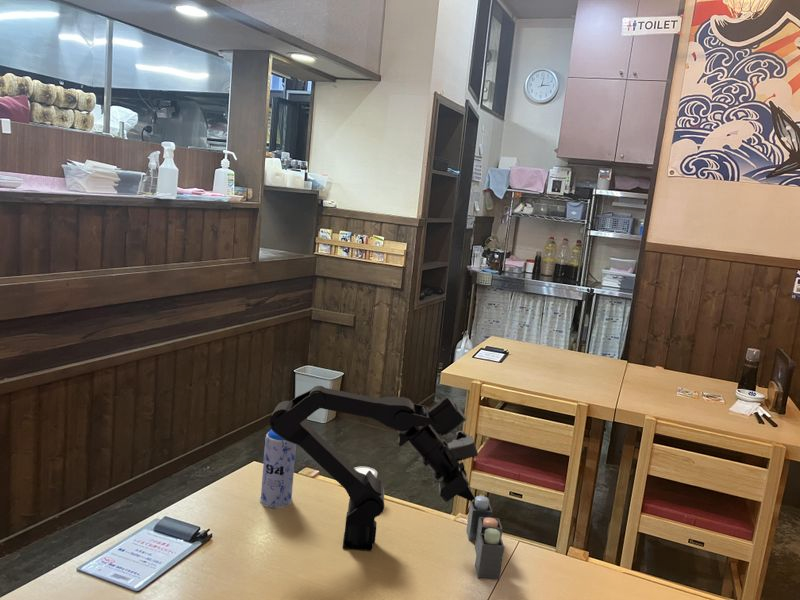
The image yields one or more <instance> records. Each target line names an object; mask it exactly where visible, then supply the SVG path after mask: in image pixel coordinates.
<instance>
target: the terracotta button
mask: <svg viewBox="0 0 800 600" xmlns="http://www.w3.org/2000/svg"><path fill="white" fill-rule="evenodd" d="M494 518H495V517H492V518H484V521H483V526H487V527H497V526H498V521H497V520H496V519H494Z"/></svg>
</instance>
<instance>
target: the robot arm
mask: <svg viewBox="0 0 800 600" xmlns="http://www.w3.org/2000/svg"><path fill="white" fill-rule="evenodd" d="M319 409H323V410H328V411H333V412H338V413H342V414H343V413H344V414H348V415H352V416H359V417H363V418H368V419H372V420H375V421H377V422H378V423H380V424H382V425H383V426H386V427H388V428H390V429H393V430H396V431H398V440H397V441H398V447H402V446H404V445H405V444H406V443H407V442H408V444H409V445H410V446H411V447H412V448H413V449H414V451H416V453H417V454H418V456H419V457H420V458H421V460H422V464H424V466H425V467H426V466H428V467H429V468H430V470H431V471H432V472H433V474H434V477H435V479H436V480H437V481H439V480H440V479H441V478H442V480H441V481H439V483H438V493H439V496H440V497H441V499H442V500H443V501H444V502H445V503H446V502H449V501H451V500H452V499H453V498H455V497H456V496H458V497H461V498H463V499H466V500H468V501H469V502H470V501H475V498H476V496H475V495H474V493H473V491H472V489H471V487H470V482H469V479H468V477H467V471H466V470H467V469H466V467H465V464H464V460H467V459H471V458H473V459H474V458H476V457H478V456H479V452H478V450H477V447H476V444H475V440H474V437H473V436H472V435H471V434H467V433H465V432H464V431H463V430H460V431H456V433H455V437H454V438H453V439H452V441H451V442H447V441H446V439H443V438H440V437H439V436H438V435H441V436H444V435H445V436H447V435H449V434H450V433H452V432H453V431H454V430H455V429H457V428H458V427H459V426H461V425H462V424H463V423H465V422H466V421H468V420H467V417H466V415H465V414H464V412H463V411H462V409H461V408H460V407H459V405H458V404H457V403H456V402H454V401H453V400H452V399H451V398H450V397H449V396H448V395H444V396H443V397H442V398H441V399H440V400H439V401H438V402H437V403H436V404H434V405H433V406H432V407H428V406H426V405H422V404H417V403H415V402H413V401H412V400H411V399H410V398H407V397H405V396H404V397H403V396H386V397H373V396H367V395H362V394H358V393H353V392H347V391H344V390H339V389H333V388H330V387H329V388H328V387H325V386H323V385H316V386H314V387H312V388H311V389H310V390H308V391H306V392H304V393H301V394H299V395H298V396H296V397H294V398H293V399H292V400H283V401H281V402H279V403H278V404H277V405H276V406H275V409H274V410H273V412H272V414H271V416H270V417H269V418H270V419H269V428H270V430H271V429H272V431H273V432H274V433H276V434H277V435H279V436H280V437H282V438H283V439H285V440H286V441H289V442H291V443H294V444H296V446H299V447H301V449H302V450H303V451H304V452H305V453H306V454H308V455H309V457H311V458H312V460H314V461H315V462H316V463H317V464H318V465H319V466H320V467H321V468H322V469H323V470H324V471H325V472H326V473H328V475H330V476H331V477H332V478H333V479H334V480H335V481H336V482H337V483H338V484H339V485H340V486H341V487H342V488H343V489H344V490H345V491H346V493H347V494H348V497H349V499H348V508H347V512H346V515H345V516H346V517H345V525H344V526H345V527H344V532H343V540H342V541H343V542H342V549H346V550H355V551H356V550H358V551H368V552H371V551H373V545H375V544H376V533H377V521H375V519H376V518H377V517H379V516H380V515H382V513H383V512H384V508H385V489H384V487H383V481H382V480H380V479H378V478H376V477H375V476H374V475H373V474H372V472H371V471H368V473H367V474H366V475H365V474H362V473H359V472H358V471H356V470H355V469H354V468H355V467H353V466H352V465H351V464H350V463H349V462H348V461H347V460H346V459H345V458H344V457H343V456H341V454H339V452H338V451H337V450H336V449H334V448H333V447H332V446H331V445H330V444H329V443H328V442H327V441H326V440H325V439H324V438H323V437H322V435H321V436H320V434H318V432H316V430H315V429H313V427H312V424H311V423H310V420H308V418H309V417H310V416H311V415H312V414H314V413H315V412H317V411H318V410H319ZM432 428H433V429H432ZM437 434H438V435H437ZM461 461H463V462H461Z"/></svg>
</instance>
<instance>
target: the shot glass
mask: <svg viewBox="0 0 800 600" xmlns="http://www.w3.org/2000/svg"><path fill="white" fill-rule="evenodd" d="M353 468H354V469H355V470H356V471H358V472H359V473H362V474H365V475H366V474H367V473H368V471H371V472H372V474H373V475H374V476H375V477H376V478H377V477H378V471H377V470H376V469H375V468H372V467H369V466H364V465H363V466H356V467H353ZM377 479H378V478H377Z"/></svg>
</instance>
